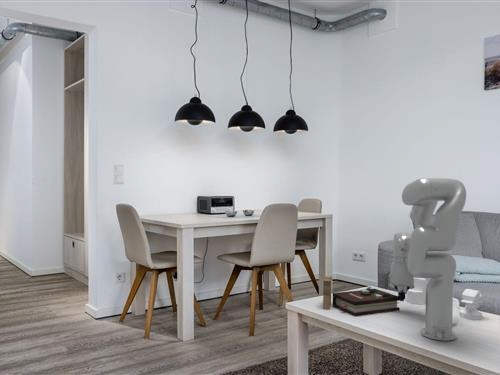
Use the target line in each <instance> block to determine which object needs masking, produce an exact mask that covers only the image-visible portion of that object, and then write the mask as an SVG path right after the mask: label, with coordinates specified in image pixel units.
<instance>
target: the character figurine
mask: <svg viewBox="0 0 500 375" xmlns="http://www.w3.org/2000/svg"><path fill="white" fill-rule="evenodd" d="M461 298H462V299H461V300H460V302H461V303H463V304H465V306H464V309H461V310H459V316H460V317H461V319H462V318H463V319H466V320H471V321H481V320H482V319H483V313H482V312H481V311H478V308H480V306H481V305H482V303H483V302H482V300H481V299H482V298H484V296H483V294H482V293H481V292H480V290H475V289H470V288H466V289H464V291H463V292H462V293H461Z"/></svg>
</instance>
